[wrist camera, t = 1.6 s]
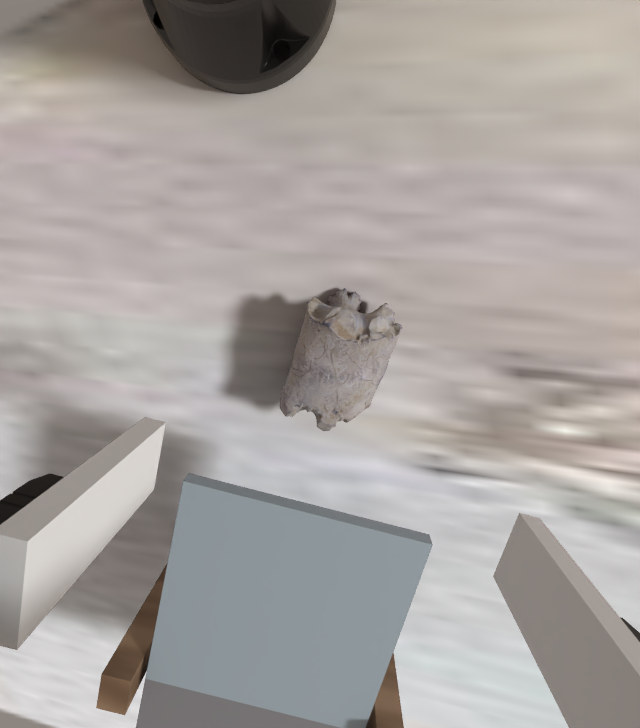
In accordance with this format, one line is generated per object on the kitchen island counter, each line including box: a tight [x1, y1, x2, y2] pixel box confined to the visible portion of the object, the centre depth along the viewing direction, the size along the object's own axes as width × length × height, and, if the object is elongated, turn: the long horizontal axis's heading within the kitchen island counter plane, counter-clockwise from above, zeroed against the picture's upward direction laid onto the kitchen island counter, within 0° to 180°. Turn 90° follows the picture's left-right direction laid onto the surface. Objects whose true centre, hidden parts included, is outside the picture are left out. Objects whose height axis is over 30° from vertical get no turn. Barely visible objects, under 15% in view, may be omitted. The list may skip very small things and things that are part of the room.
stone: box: [280, 288, 402, 431], centre depth 36 cm, size 8×12×7 cm, turn 162°
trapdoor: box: [136, 473, 432, 728], centre depth 30 cm, size 24×16×4 cm, turn 166°
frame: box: [96, 563, 404, 728], centre depth 36 cm, size 5×22×17 cm, turn 76°
